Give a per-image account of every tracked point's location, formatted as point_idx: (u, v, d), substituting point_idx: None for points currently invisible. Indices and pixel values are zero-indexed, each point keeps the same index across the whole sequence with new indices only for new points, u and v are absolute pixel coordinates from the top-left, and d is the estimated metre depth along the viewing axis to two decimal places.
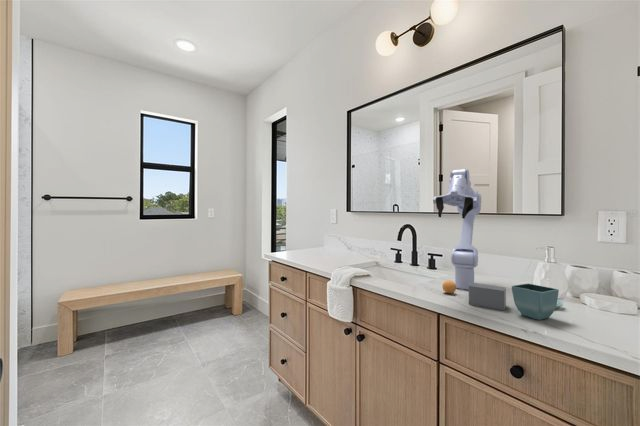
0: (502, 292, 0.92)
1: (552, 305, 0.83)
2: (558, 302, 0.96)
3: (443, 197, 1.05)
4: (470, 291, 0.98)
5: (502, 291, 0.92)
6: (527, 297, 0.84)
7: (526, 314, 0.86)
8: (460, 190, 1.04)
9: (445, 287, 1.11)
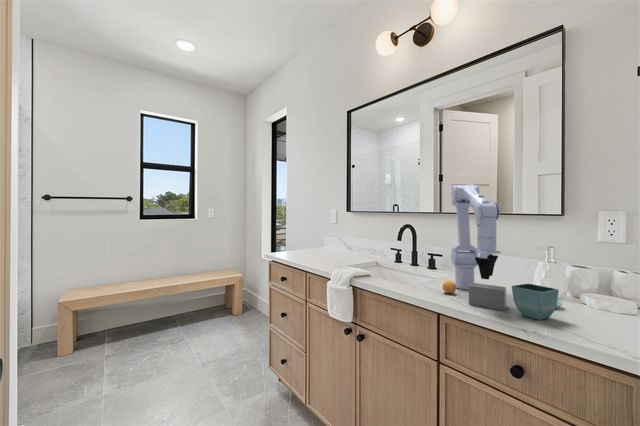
0: (502, 292, 0.92)
1: (552, 305, 0.83)
2: (557, 302, 0.96)
3: (489, 254, 0.94)
4: (470, 291, 0.98)
5: (502, 291, 0.92)
6: (527, 297, 0.84)
7: (526, 314, 0.86)
8: None
9: (445, 287, 1.11)
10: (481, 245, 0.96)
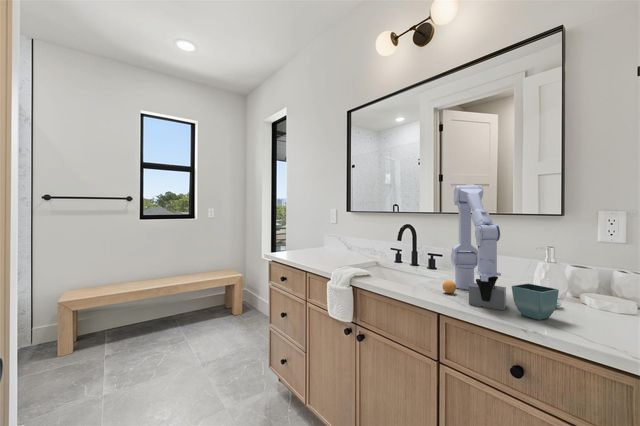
0: (502, 292, 0.92)
1: (552, 305, 0.83)
2: None
3: (489, 276, 0.94)
4: (470, 291, 0.98)
5: (502, 291, 0.92)
6: (527, 297, 0.84)
7: (526, 314, 0.86)
8: None
9: (445, 287, 1.11)
10: (481, 267, 0.96)
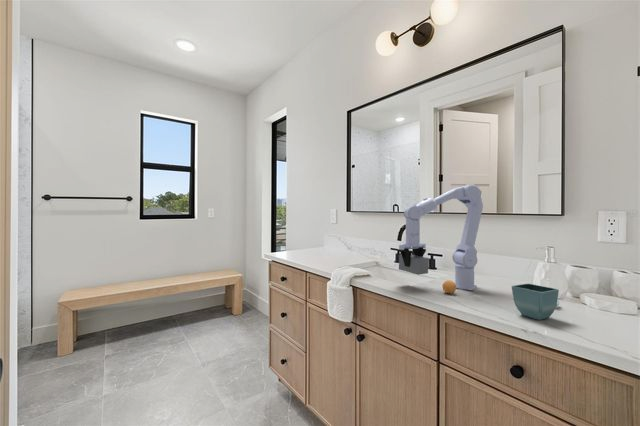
0: (417, 260, 1.15)
1: (552, 305, 0.83)
2: None
3: (408, 246, 1.18)
4: (400, 259, 1.23)
5: (417, 259, 1.15)
6: (527, 297, 0.84)
7: (526, 314, 0.86)
8: (419, 239, 1.20)
9: (445, 287, 1.11)
10: (406, 239, 1.21)
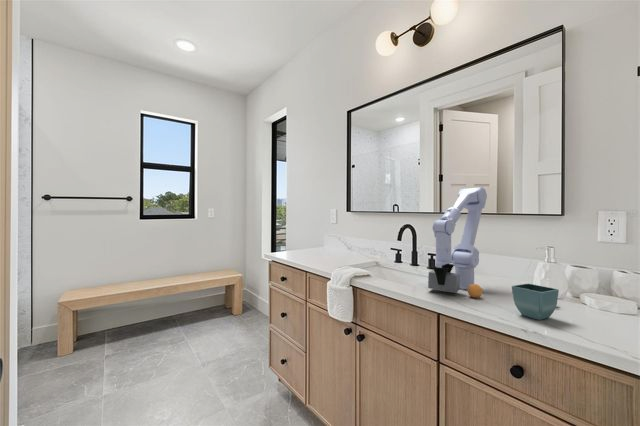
0: (454, 277, 1.08)
1: (552, 305, 0.83)
2: None
3: (444, 263, 1.10)
4: (429, 276, 1.14)
5: (455, 276, 1.08)
6: (527, 297, 0.84)
7: (526, 314, 0.86)
8: None
9: (476, 293, 1.04)
10: (438, 256, 1.12)
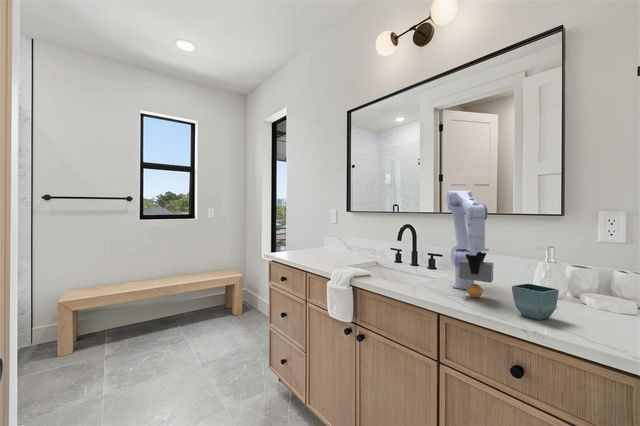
0: (489, 266, 1.01)
1: (552, 305, 0.83)
2: None
3: (478, 251, 1.03)
4: (461, 266, 1.07)
5: (489, 265, 1.01)
6: (527, 297, 0.84)
7: (526, 314, 0.86)
8: None
9: (476, 293, 1.04)
10: (471, 243, 1.05)
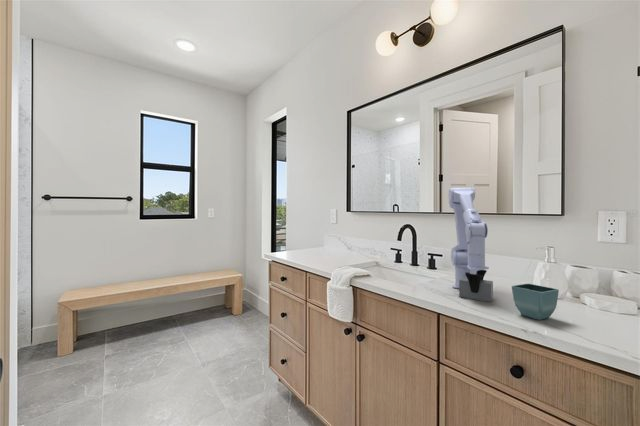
0: (488, 285, 1.01)
1: (552, 305, 0.83)
2: None
3: (478, 269, 1.03)
4: (460, 285, 1.07)
5: (489, 284, 1.01)
6: (527, 297, 0.84)
7: (526, 314, 0.86)
8: None
9: None
10: (471, 261, 1.05)
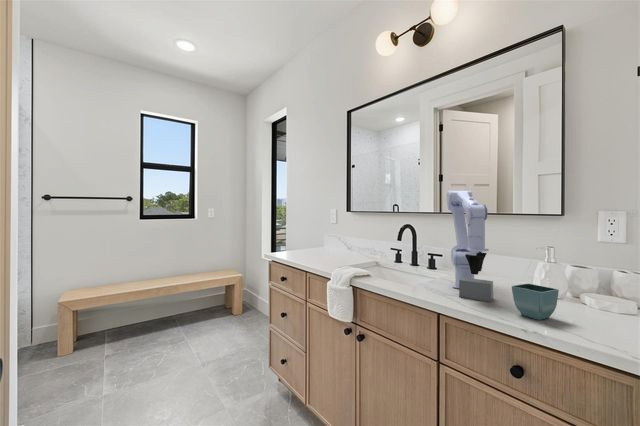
0: (488, 285, 1.01)
1: (552, 305, 0.83)
2: None
3: (478, 251, 1.03)
4: (460, 285, 1.07)
5: (489, 284, 1.01)
6: (527, 297, 0.84)
7: (526, 314, 0.86)
8: None
9: None
10: (471, 243, 1.05)
